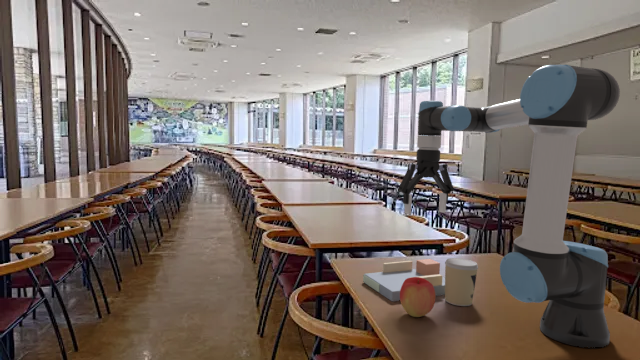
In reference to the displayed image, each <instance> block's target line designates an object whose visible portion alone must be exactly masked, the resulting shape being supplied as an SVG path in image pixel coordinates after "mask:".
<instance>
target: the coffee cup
mask: <svg viewBox="0 0 640 360" xmlns="http://www.w3.org/2000/svg"><path fill="white" fill-rule="evenodd" d="M444 265H445V269H444V270H445V271H444V277H445V295H444V300H445V302H446V303H449V304H452V305H454V306H459V307H460V306H461V307H469V306H472V304H473V300H474V294H475V287H476V281H477V274H478V269H479V266H478V263H477V262H476V261H475V260H470V259H467V258H460V257H459V258H458V257H456V258H455V257H451V258H447V259H446V260H445V261H444Z"/></svg>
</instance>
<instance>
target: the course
mask: <svg viewBox="0 0 640 360" xmlns="http://www.w3.org/2000/svg"><path fill="white" fill-rule="evenodd" d="M362 276H363V278H362V279H363V281H362V283H364V284H366V285H367V286H368V287H370V288H371V289H373V290H374V291H375V292H376V293H379V294H380V295H382V296H383V297H384V298H387V299H388V300H389V301H391V302H399V300H400V290H401V287H402V284H403V282H404V281H405V280H406V279H407V278H411V277H420V278H424V279H426V280H427V281H429V282H430V283H431V284H432V285H433V287H434V290H435V297H437V296H445V275H444V276H443V274H440V273H439V274H437V275H428V276H424V275H422V274H420V273H418V272H416V268H413V261H412V260H404V261H403V260H402V261H393V262H392V261H391V262H384V263H383V262H382V271H379V272H378V271H377V272H369V273H363V275H362Z"/></svg>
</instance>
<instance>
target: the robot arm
mask: <svg viewBox="0 0 640 360" xmlns="http://www.w3.org/2000/svg"><path fill="white" fill-rule="evenodd" d="M620 95H621V91H620V85H619V83H618V81H617V80H616V78H615V77H614V76H613V75H612V74H611V73H609V72H608V71H605V70H603V69H599V68H590V67H583V66H575V65H569V64H548V65H543V66H541V67H539V68H537V69H536V70H534V71H532V74H531V75H529V76H528V77H527V78H526V80H525V82H523V85H522V88H521V90H520V94H519V99H515V100H514V99H513V100H509V101H505V102H502V103H497V104H493V105H489V106H484V107H473V106H464V105H458V104H457V105H456V104H453V105H447V106H444V103H443V102H442V101H440V100H423V101H421V102H420V103H419V105H418V106H419V109H418V113H417V115H418V117H417V118H418V121H417V142H416V148H417V150H416V158H415V159H416V164H415V163H408V164H407V170H406V172H405V175H404V177H403V178H402V181H401V182H400V184H399V187H398V188H397V191H398V192H399V193H401V194H403V197H402V199H403V200H402V202H403V204H404V214H406V215H411V216H412V203H413V202H412V201H413V200H412V199H413V194H411V192H412V191H413V190H414V189H415V187H416V186H417V185H418V184H419V182H420V181H421V180H422V179H423V178H432V179H433V180H434V181H435V183H436V184H437V186H438V187H439V190H440V191H441V192H439V199H438V200H439V201H438V202H439V203H438V212H439V213H442V214H446V211H447V203H448V202H449V195H450V194H451V193H452V192H454V190H455V188H454V186H453V182H452V180H451V177H450V174H449V172H448V164H447V163H440V160H441V151H440V149H441V147H442V131H443V132H444V131H445V132H474V133H489V134H490V133H497V132H499V131H500V130H502V129H509V128H516V127H520V126H522V127H523V126H528V127H529V129H530V130H531V131H532V132H533V134H534V135H533V141H532V142H533V143H532V151H531V158H530V159H531V160H530V167H529V175H528V185H527V189H526V190H527V191H526V198H525V206H524V214H523V215H524V216H523V224H522V229H521V230H522V232H521V234H520V235H519V236H518V237H516V238H515V239H514V240H513V247H512V252H508V253H507V254H505V255H504V256H503V257H502V258H501V261H500V262H499V263H500V264H499V274H500V279H501V281H502V284H503V285H504V287H505V290H506V291H507V292H508V293H509V294H510V295H511V296H512V297H513V299H516V300H517V301H520V302H522V303H527V304H528V303H537V304H538V303H543V302H547V301H548V303H547V305H546V307H545V310H544V311H543V314H542V316H541V317H540V321H539V330H540V331H541V333H542V334H544V335H545V336H547V337H549V338H550V339H552V340H554V341H557V342H560V343H562V344H566V345H569V346H573V347H577V346H579V347H578V348H584V347H588V348H587V349H596V348H595V347H602V348H605V347H607V346H608V345H609V344H610V338H611V337H610V336H611V332H610V330H609V327H608V323H607V321H608V320H607V318H606V315H605V314H606V313H605V311H604V310H605V308H604V306H605V296H606V289H607V288H606V286H607V275H608V268H609V264H608V263H609V261H608V259H609V258H608V257H609V256H608V253H607V251H605V250H604V249H603V248H600V247H596V246H592V245H590V244H585V243H580V242H576V241H575V242H574V241H569V240H564V234H565V233H564V232H565V227H566V220H567V214H568V213H567V212H568V206H569V205H568V204H569V198H570V190H571V183H572V177H573V171H574V170H573V169H574V161H575V157H576V156H575V154H576V147H577V142H578V141H577V140H578V136H579V135H580V134H582V133H584V131H586V130H587V126H588V121H594V120H599V119H601V118H604V117H606V116H607V115H609V114H610V113H612V111H613V110H614V109H615V108H616V106H617V105H618V102H619V100H620ZM415 171H416V172H415ZM439 172H440V173H439ZM606 345H607V346H606ZM604 346H605V347H604ZM590 347H592V348H590ZM593 347H594V348H593Z"/></svg>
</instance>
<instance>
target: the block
mask: <svg viewBox="0 0 640 360" xmlns="http://www.w3.org/2000/svg"><path fill="white" fill-rule="evenodd" d="M415 264H416V266H415V267H416V268H415V269H416V272H418V273H420V274H422V275H424V276H428V275H437V274H440V273H441V272H440V271H441V270H440V269H441V262H439V261H436V260H434V259H432V258H426V259H425V258H424V259H417V260H416V263H415Z"/></svg>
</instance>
